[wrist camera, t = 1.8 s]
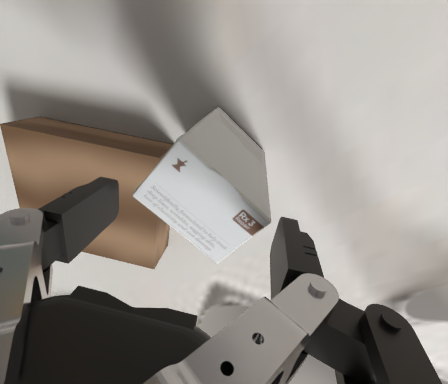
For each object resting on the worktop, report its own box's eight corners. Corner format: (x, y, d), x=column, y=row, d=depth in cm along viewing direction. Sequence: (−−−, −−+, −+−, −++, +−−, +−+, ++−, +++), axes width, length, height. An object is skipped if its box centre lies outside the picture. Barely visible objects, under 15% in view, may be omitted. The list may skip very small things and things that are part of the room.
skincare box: (188, 139, 23) (120, 197, 12) (220, 102, 21) (173, 132, 11) (236, 183, 24) (212, 271, 14) (270, 151, 23) (274, 224, 12)
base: (38, 116, 25) (-1, 123, 21) (175, 145, 24) (159, 157, 20) (55, 218, 30) (26, 238, 26) (167, 245, 29) (154, 269, 25)
